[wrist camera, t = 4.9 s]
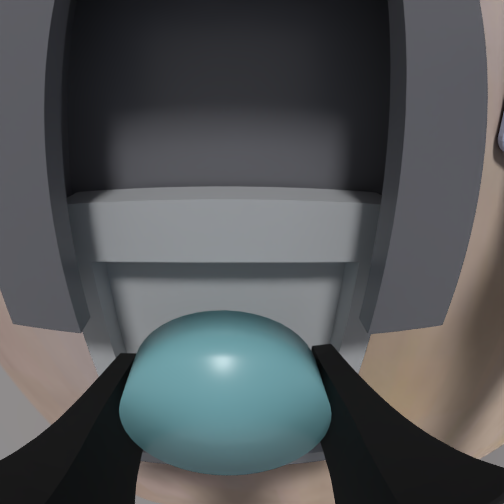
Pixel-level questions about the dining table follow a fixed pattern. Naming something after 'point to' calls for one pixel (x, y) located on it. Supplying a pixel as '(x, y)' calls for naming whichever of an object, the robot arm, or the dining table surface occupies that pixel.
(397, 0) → the grey drawer housing
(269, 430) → the teal rounded dome
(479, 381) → the dining table surface
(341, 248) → the tray
